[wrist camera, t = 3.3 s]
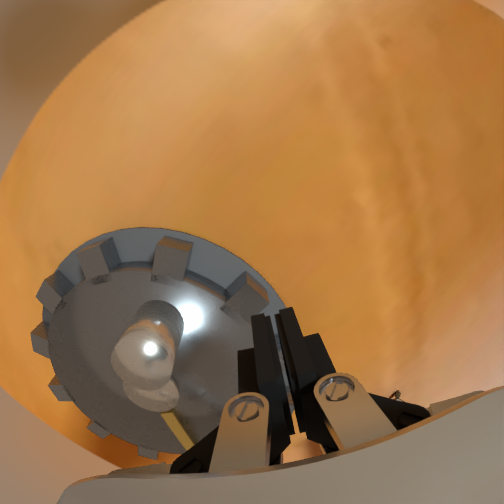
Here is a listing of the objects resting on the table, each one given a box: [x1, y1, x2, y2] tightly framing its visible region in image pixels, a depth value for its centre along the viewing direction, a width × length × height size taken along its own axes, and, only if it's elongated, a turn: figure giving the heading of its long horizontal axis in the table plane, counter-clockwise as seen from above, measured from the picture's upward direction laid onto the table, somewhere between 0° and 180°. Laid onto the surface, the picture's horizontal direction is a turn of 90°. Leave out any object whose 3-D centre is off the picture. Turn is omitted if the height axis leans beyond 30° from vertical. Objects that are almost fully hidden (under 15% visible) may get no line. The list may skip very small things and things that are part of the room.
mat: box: [43, 227, 289, 386], centre depth 20 cm, size 21×21×1 cm
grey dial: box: [31, 235, 294, 460], centre depth 17 cm, size 20×20×6 cm
